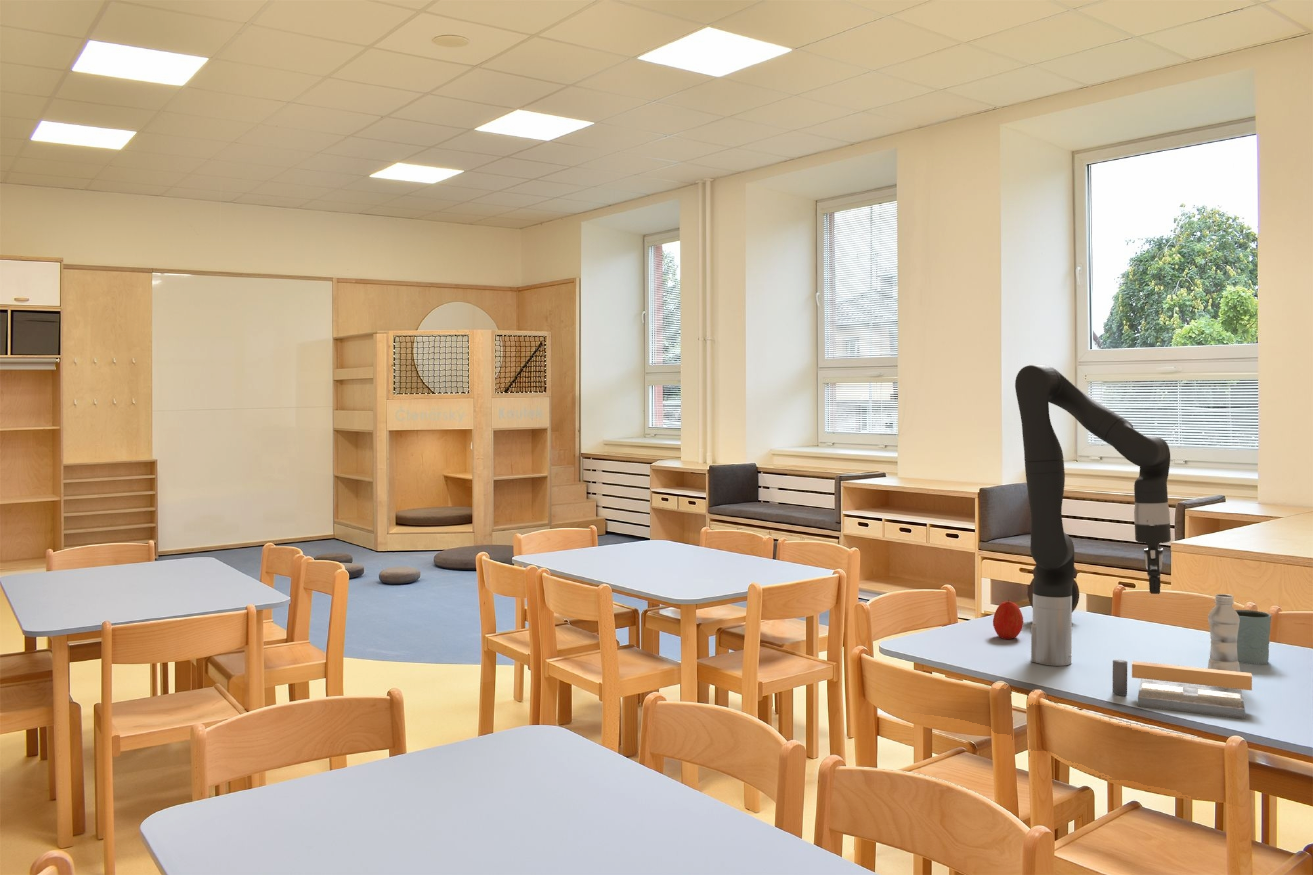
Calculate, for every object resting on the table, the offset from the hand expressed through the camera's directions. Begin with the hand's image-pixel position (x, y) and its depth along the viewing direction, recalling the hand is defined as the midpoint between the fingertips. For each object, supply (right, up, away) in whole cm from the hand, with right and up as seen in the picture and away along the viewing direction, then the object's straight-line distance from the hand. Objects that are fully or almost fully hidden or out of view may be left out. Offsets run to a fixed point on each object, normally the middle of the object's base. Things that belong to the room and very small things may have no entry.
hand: (1155, 590), depth 238 cm
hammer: (-2, -22, -16) cm, 27 cm away
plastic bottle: (+17, -22, +1) cm, 27 cm away
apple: (-19, -20, +46) cm, 53 cm away
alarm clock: (+3, -20, +67) cm, 70 cm away
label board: (-1, -22, -17) cm, 28 cm away
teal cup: (+33, -21, +20) cm, 44 cm away
